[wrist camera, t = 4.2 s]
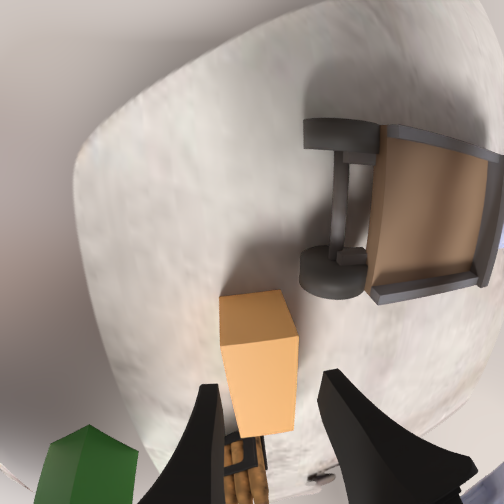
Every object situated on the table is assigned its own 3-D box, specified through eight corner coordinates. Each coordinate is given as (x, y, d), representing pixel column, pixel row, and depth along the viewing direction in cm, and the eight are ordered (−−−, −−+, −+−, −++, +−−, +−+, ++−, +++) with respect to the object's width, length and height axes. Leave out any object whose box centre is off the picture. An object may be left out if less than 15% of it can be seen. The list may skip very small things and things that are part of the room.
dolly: (480, 154, 15) (528, 166, 10) (466, 253, 19) (507, 280, 14) (294, 122, 14) (332, 112, 9) (292, 269, 17) (319, 320, 12)
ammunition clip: (194, 456, 26) (196, 537, 15) (183, 451, 25) (182, 535, 14) (263, 429, 24) (281, 527, 13) (252, 424, 24) (268, 527, 13)
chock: (279, 288, 18) (298, 335, 13) (281, 384, 22) (293, 430, 17) (219, 295, 18) (220, 346, 13) (236, 390, 21) (240, 438, 17)
